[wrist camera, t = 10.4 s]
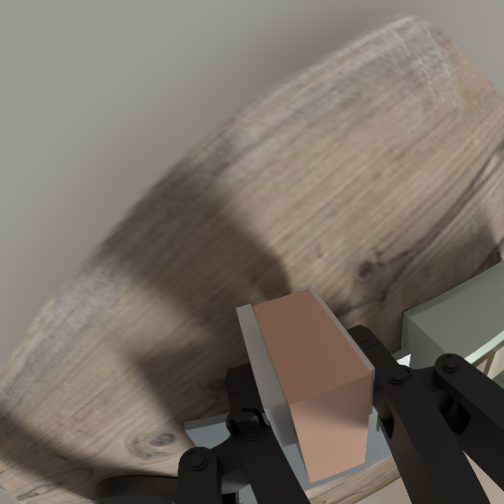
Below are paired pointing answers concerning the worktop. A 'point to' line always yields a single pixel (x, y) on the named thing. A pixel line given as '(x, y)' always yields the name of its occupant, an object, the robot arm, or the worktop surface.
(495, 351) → the part
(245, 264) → the worktop surface
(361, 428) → the lid
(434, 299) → the tub
